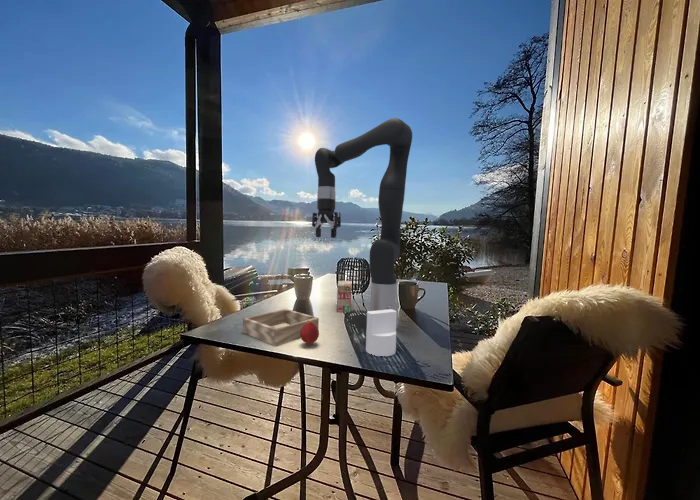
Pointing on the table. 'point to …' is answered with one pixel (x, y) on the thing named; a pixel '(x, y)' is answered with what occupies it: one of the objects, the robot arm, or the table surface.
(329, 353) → the table surface
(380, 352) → the cylinder with rectangular tab
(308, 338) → the onion
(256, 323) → the wooden box
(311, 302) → the table surface
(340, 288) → the cardboard carton
